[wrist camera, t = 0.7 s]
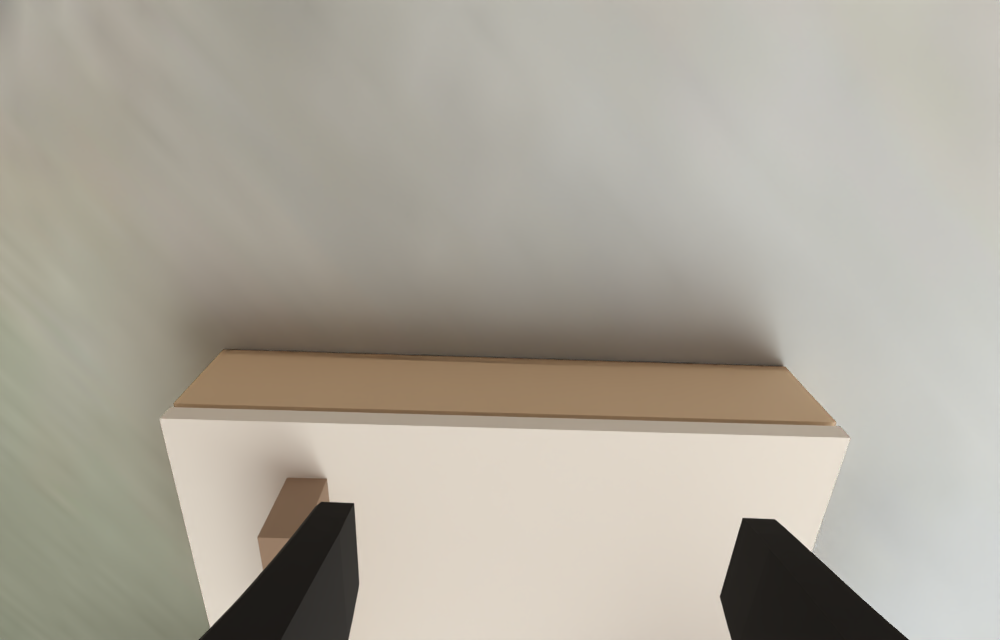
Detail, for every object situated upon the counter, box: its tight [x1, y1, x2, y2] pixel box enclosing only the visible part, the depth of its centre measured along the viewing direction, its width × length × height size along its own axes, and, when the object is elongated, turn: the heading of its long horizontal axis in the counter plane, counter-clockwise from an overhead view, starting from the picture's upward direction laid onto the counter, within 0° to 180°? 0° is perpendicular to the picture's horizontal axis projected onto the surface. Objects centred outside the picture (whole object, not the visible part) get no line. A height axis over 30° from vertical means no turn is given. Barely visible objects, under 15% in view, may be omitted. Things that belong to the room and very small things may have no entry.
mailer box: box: [173, 349, 836, 426], centre depth 22 cm, size 12×20×4 cm, turn 88°
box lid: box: [159, 407, 851, 640], centre depth 19 cm, size 12×20×3 cm, turn 88°
